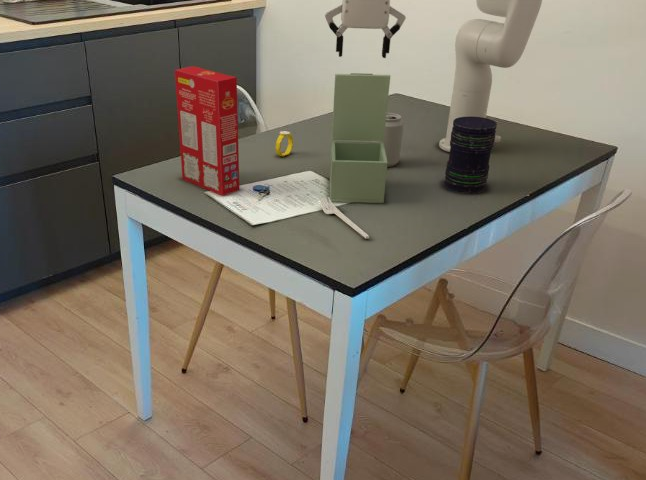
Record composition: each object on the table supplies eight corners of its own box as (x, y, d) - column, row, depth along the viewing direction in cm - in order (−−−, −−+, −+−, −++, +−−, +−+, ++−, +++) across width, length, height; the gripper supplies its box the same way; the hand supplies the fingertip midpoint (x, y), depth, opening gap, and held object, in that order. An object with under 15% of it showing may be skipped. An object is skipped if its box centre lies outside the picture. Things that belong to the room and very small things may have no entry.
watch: (281, 159, 182) (282, 136, 178) (273, 157, 183) (273, 134, 179) (295, 153, 186) (295, 130, 182) (286, 151, 187) (287, 128, 183)
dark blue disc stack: (435, 182, 169) (444, 118, 160) (469, 176, 172) (479, 114, 163) (459, 196, 161) (470, 131, 153) (494, 190, 164) (506, 126, 156)
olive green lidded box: (383, 203, 158) (387, 162, 152) (329, 201, 158) (331, 161, 153) (379, 180, 169) (383, 142, 164) (329, 179, 170) (331, 141, 164)
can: (398, 168, 176) (403, 120, 169) (368, 166, 177) (372, 118, 170) (400, 159, 182) (405, 112, 175) (371, 157, 183) (375, 110, 177)
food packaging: (239, 189, 164) (236, 77, 150) (222, 195, 161) (217, 81, 146) (199, 173, 172) (193, 66, 158) (182, 179, 169) (174, 69, 155)
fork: (360, 241, 141) (361, 233, 140) (316, 206, 156) (316, 198, 155) (374, 239, 142) (375, 230, 141) (329, 203, 157) (329, 195, 156)
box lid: (390, 76, 154) (388, 67, 158) (335, 74, 154) (335, 66, 158) (383, 141, 163) (382, 131, 168) (331, 139, 164) (331, 130, 168)
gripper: (408, -33, 149) (399, 54, 158) (327, -35, 149) (323, 51, 159) (412, -29, 142) (402, 60, 152) (327, -31, 143) (323, 58, 153)
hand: (362, 56), depth 156 cm, fingers open, 9 cm apart
